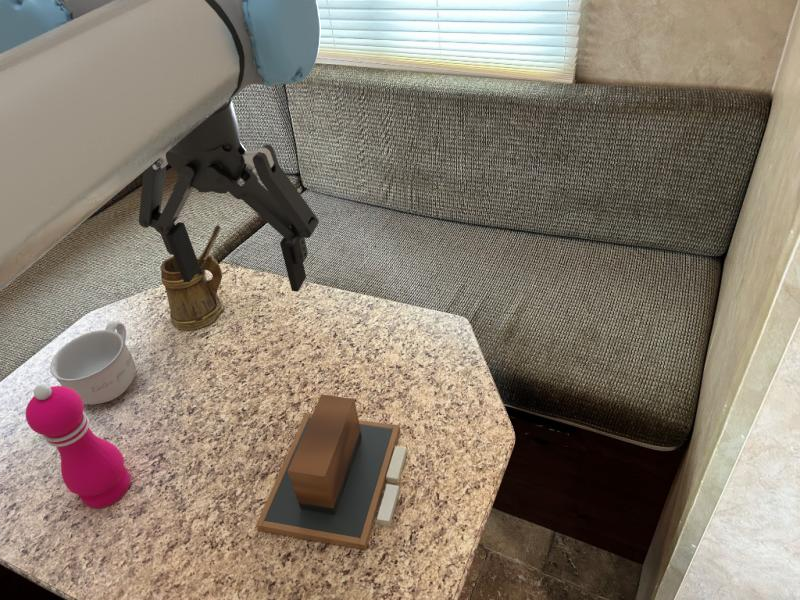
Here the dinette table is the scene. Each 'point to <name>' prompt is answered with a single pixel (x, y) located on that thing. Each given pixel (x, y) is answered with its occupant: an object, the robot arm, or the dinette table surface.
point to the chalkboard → (355, 502)
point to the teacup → (96, 364)
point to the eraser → (326, 454)
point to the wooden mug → (193, 291)
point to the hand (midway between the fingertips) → (244, 279)
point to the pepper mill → (78, 446)
